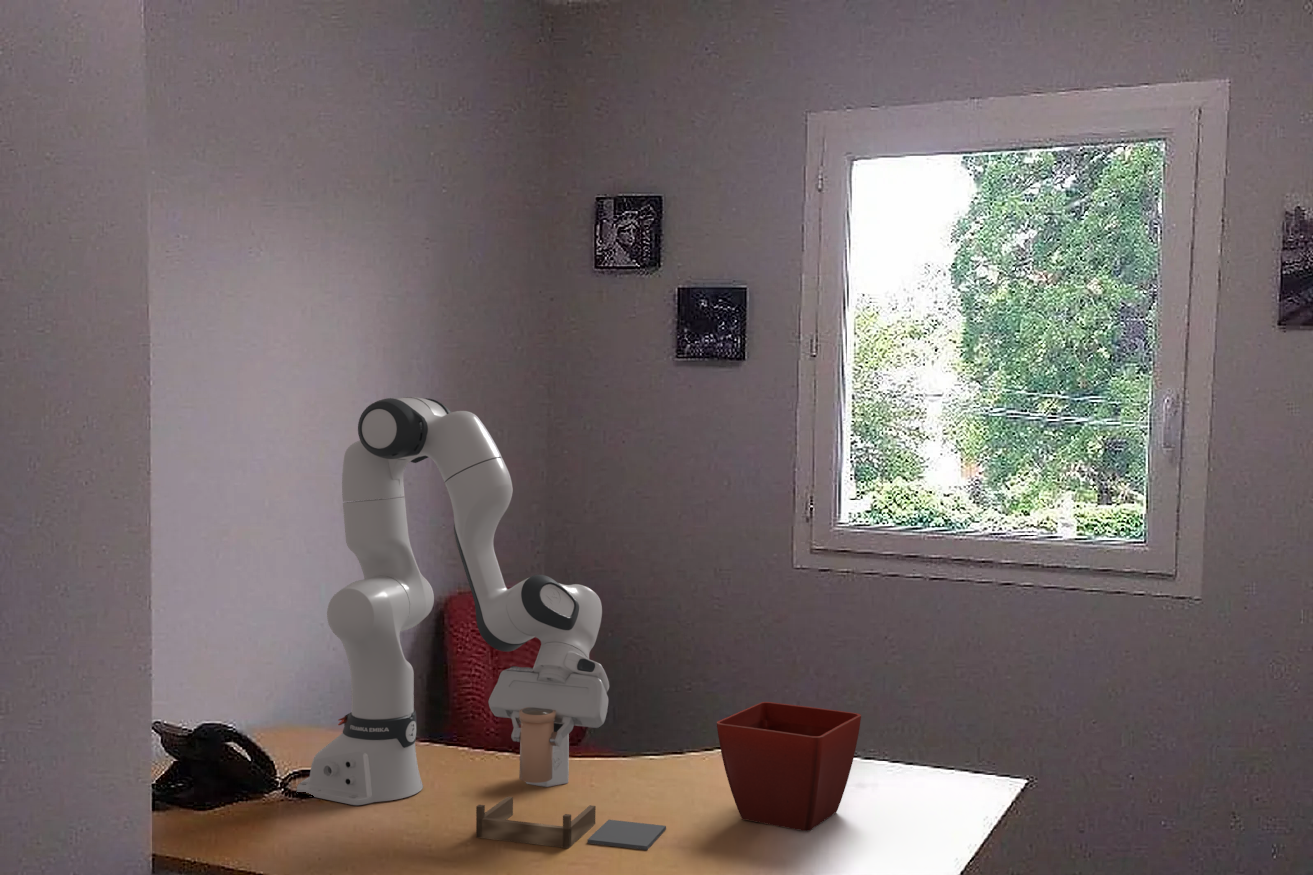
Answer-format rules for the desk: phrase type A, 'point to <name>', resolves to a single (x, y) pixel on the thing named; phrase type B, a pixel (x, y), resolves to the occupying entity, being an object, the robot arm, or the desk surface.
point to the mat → (627, 834)
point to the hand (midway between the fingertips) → (535, 742)
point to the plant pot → (788, 762)
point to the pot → (536, 744)
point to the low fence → (531, 826)
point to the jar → (558, 763)
